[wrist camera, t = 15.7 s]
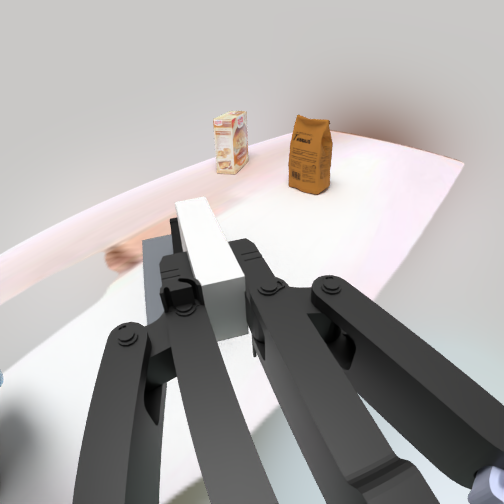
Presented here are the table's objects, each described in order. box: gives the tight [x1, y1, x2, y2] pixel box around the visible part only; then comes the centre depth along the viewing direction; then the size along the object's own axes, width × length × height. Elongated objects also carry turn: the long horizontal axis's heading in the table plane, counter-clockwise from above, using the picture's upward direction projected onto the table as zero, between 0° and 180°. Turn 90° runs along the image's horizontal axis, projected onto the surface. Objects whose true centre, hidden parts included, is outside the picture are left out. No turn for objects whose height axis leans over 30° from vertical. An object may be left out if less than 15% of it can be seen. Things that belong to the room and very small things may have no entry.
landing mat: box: [142, 234, 173, 325], centre depth 64 cm, size 18×31×1 cm, turn 17°
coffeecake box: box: [213, 111, 248, 175], centre depth 108 cm, size 15×7×20 cm, turn 162°
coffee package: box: [288, 115, 333, 194], centre depth 91 cm, size 10×12×22 cm
